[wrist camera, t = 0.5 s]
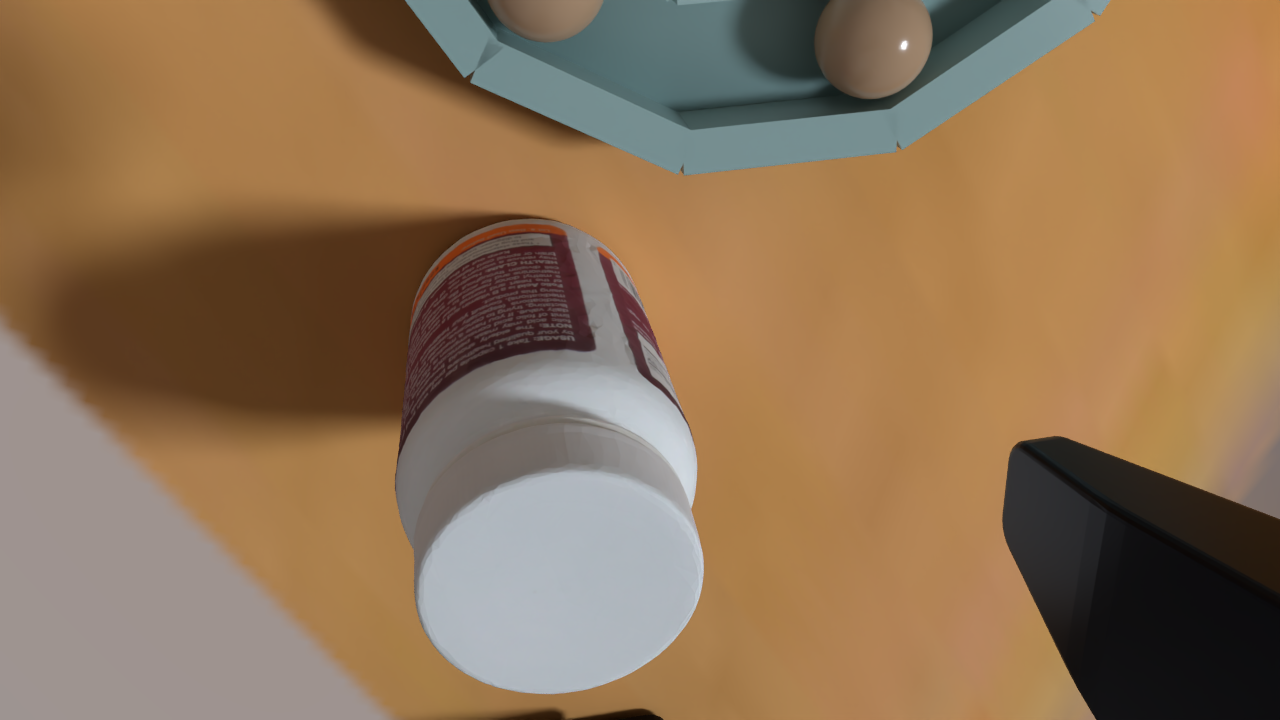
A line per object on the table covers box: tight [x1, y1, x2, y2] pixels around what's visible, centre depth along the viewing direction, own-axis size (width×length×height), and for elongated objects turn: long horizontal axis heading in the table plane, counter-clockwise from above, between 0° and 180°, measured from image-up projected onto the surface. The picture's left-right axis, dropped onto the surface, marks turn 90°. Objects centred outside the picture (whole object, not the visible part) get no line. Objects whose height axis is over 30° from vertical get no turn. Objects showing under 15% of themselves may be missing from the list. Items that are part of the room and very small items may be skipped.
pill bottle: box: [395, 219, 704, 694], centre depth 18 cm, size 5×5×8 cm
